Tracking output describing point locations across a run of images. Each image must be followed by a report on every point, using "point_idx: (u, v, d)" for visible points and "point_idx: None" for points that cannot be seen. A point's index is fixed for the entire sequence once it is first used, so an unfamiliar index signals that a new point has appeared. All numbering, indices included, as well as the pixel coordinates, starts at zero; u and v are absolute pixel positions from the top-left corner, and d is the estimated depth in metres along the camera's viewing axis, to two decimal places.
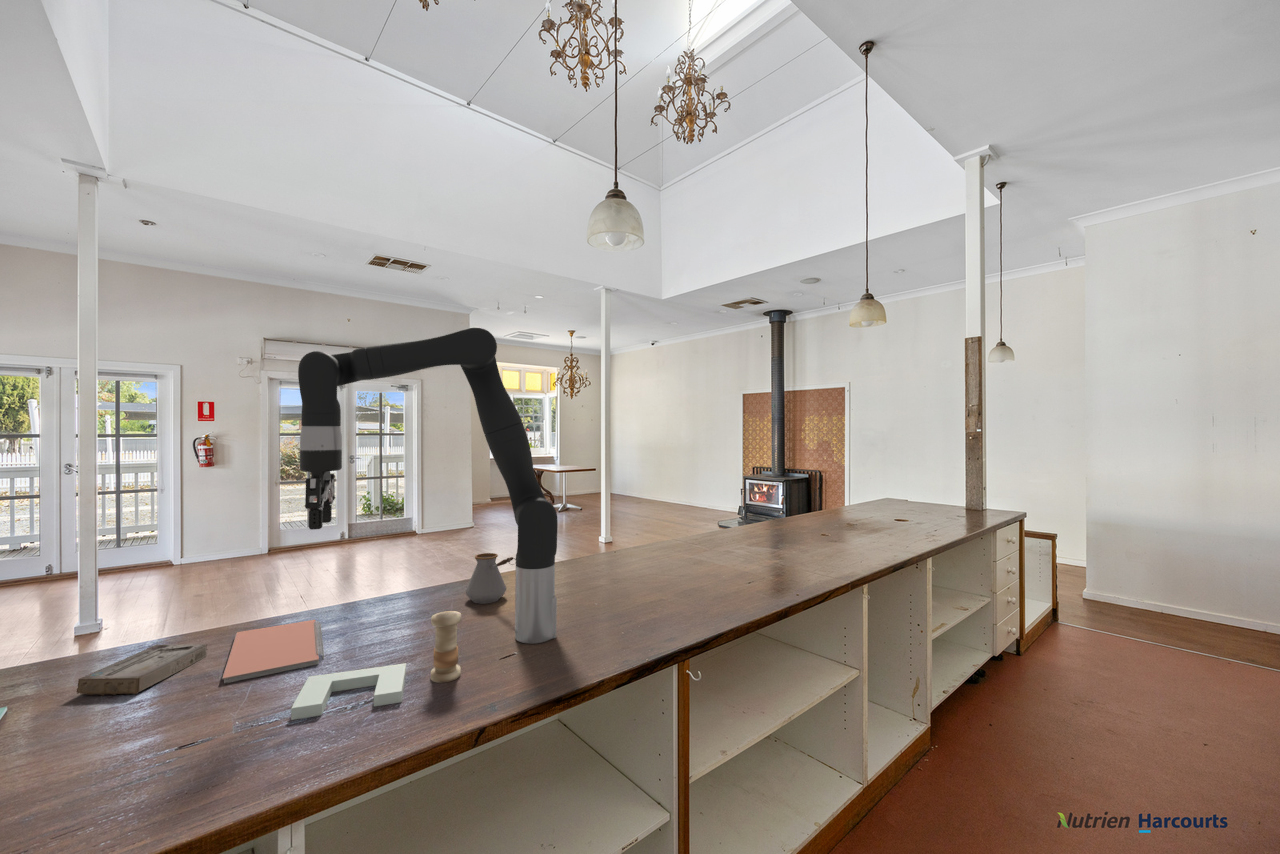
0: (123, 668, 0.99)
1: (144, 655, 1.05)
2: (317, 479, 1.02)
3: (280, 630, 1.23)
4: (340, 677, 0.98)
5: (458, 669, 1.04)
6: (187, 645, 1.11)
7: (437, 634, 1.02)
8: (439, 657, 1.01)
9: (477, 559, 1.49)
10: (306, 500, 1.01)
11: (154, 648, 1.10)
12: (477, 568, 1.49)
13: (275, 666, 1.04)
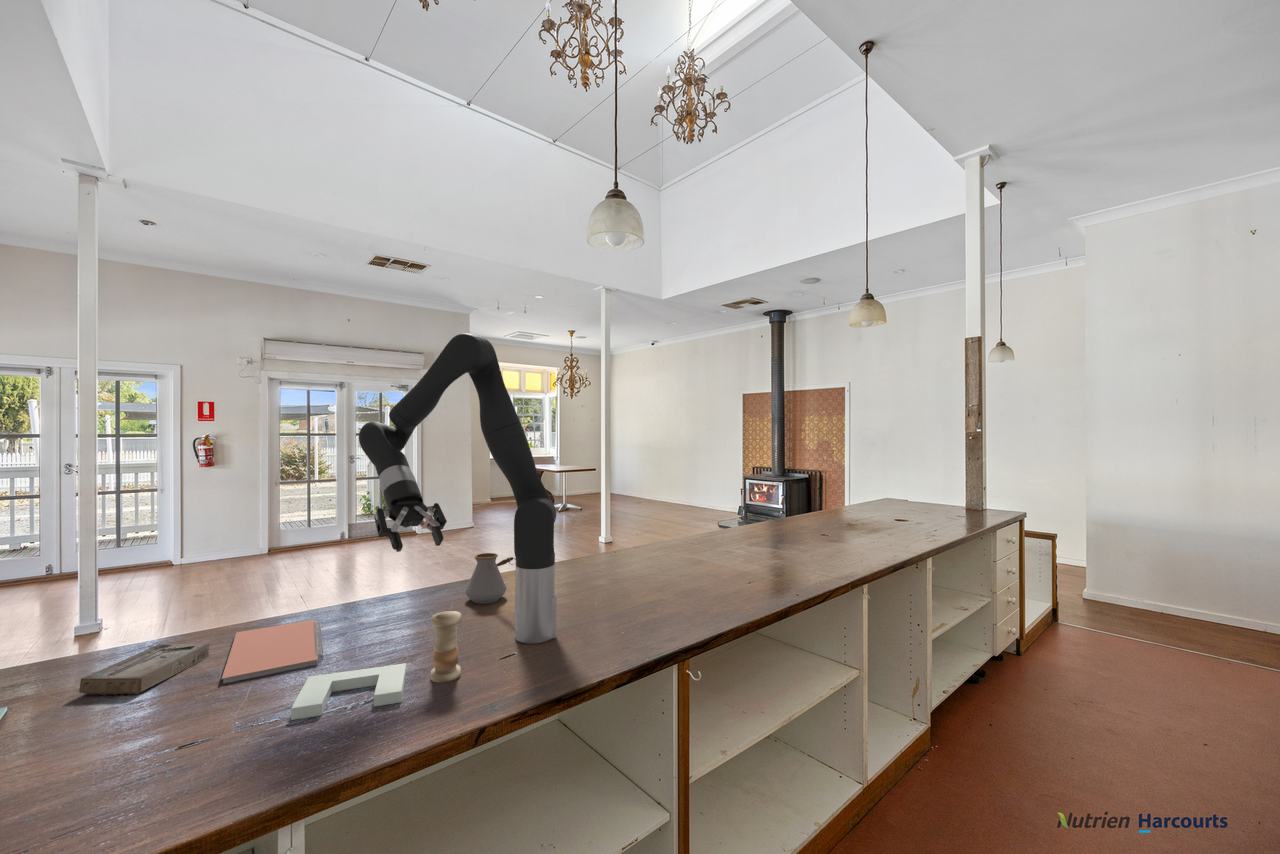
0: (125, 668, 0.99)
1: (146, 655, 1.05)
2: (377, 510, 1.12)
3: (280, 630, 1.23)
4: (340, 677, 0.98)
5: (458, 669, 1.04)
6: (189, 645, 1.11)
7: (437, 634, 1.02)
8: (439, 657, 1.01)
9: (477, 559, 1.49)
10: (377, 530, 1.10)
11: (157, 648, 1.10)
12: (477, 568, 1.49)
13: (274, 666, 1.04)
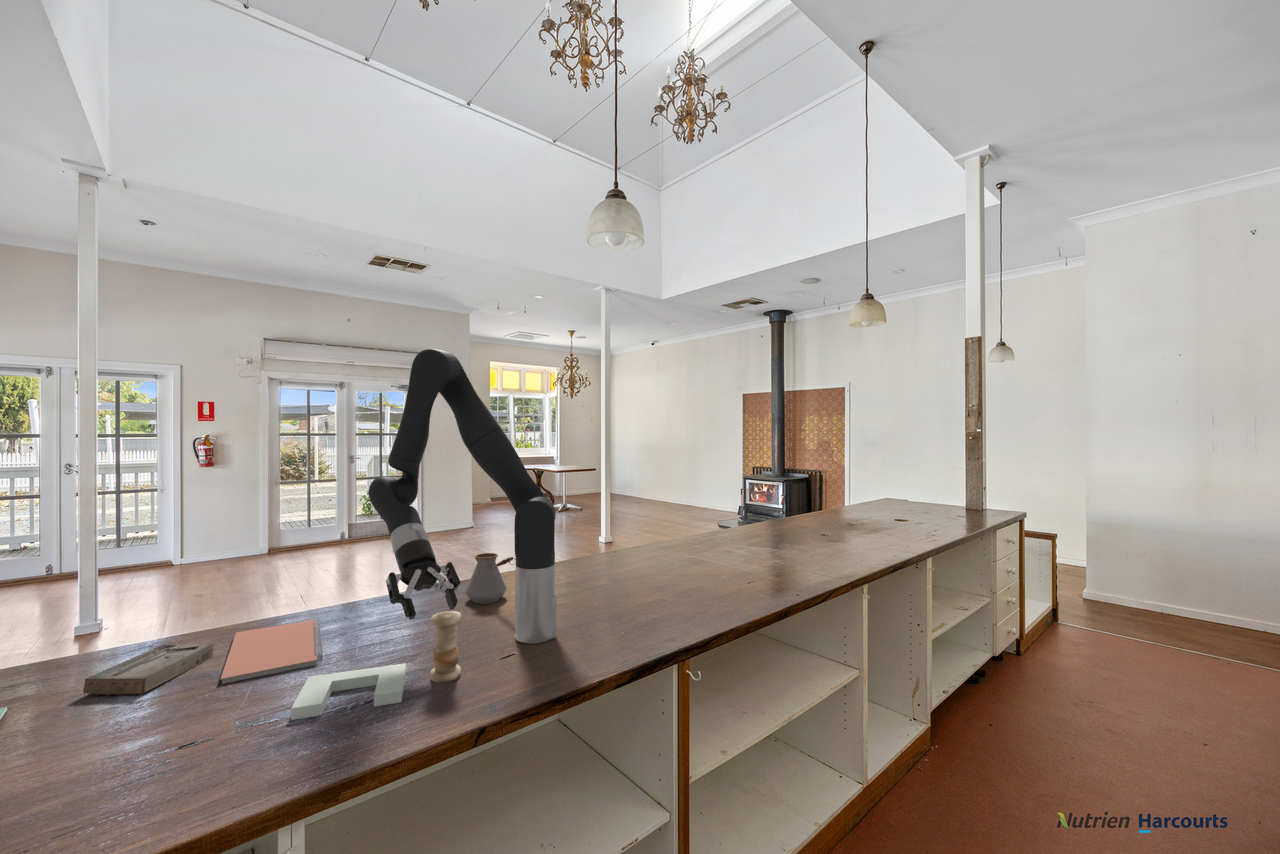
0: (129, 668, 0.99)
1: (151, 655, 1.05)
2: (389, 574, 1.07)
3: (279, 630, 1.23)
4: (340, 677, 0.98)
5: (458, 669, 1.04)
6: (194, 645, 1.11)
7: (437, 634, 1.02)
8: (439, 657, 1.01)
9: (477, 559, 1.49)
10: (389, 596, 1.06)
11: (161, 648, 1.10)
12: (477, 568, 1.49)
13: (273, 666, 1.04)
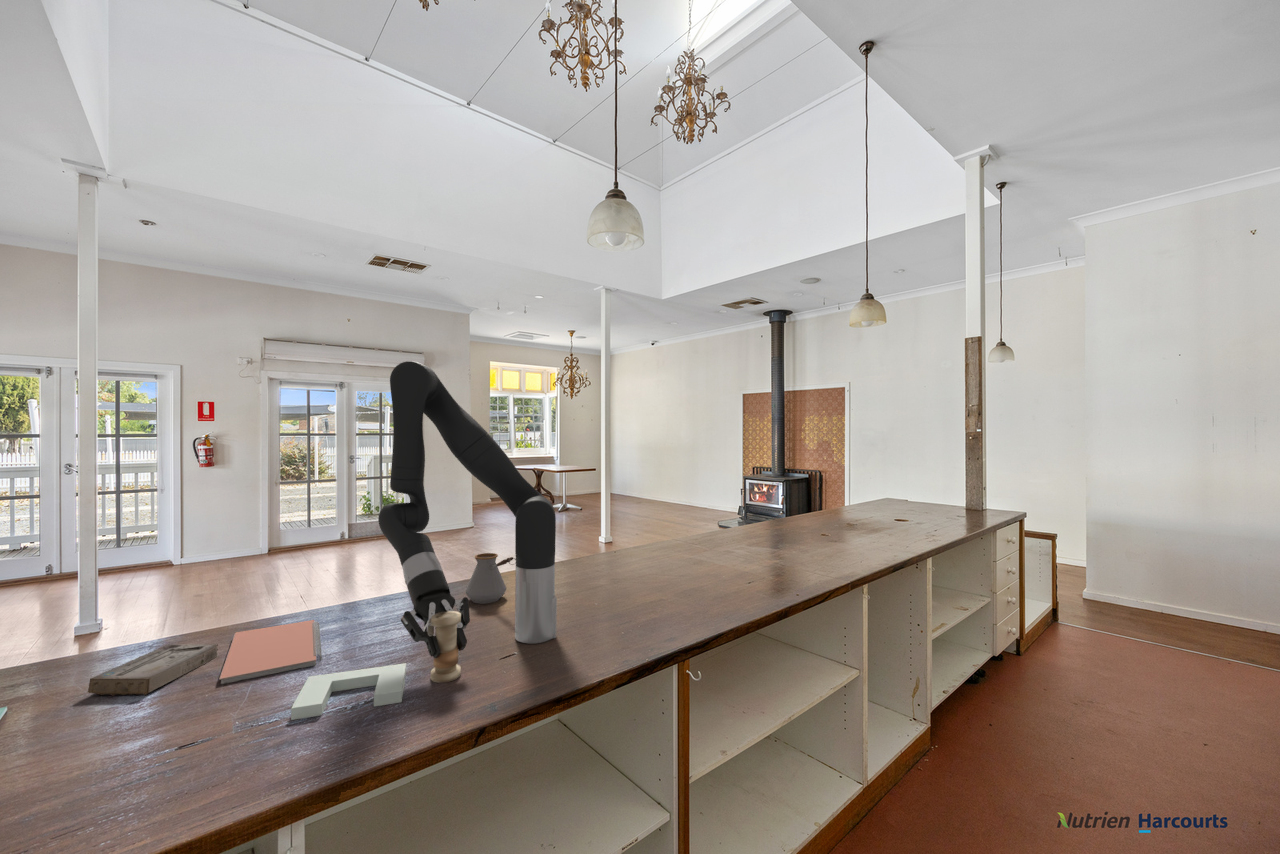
0: (134, 668, 0.99)
1: (155, 655, 1.05)
2: (403, 614, 1.02)
3: (278, 630, 1.23)
4: (340, 677, 0.98)
5: (458, 669, 1.04)
6: (198, 645, 1.11)
7: (437, 634, 1.02)
8: (439, 657, 1.01)
9: (477, 559, 1.49)
10: (411, 635, 1.01)
11: (166, 648, 1.10)
12: (477, 568, 1.49)
13: (272, 667, 1.04)
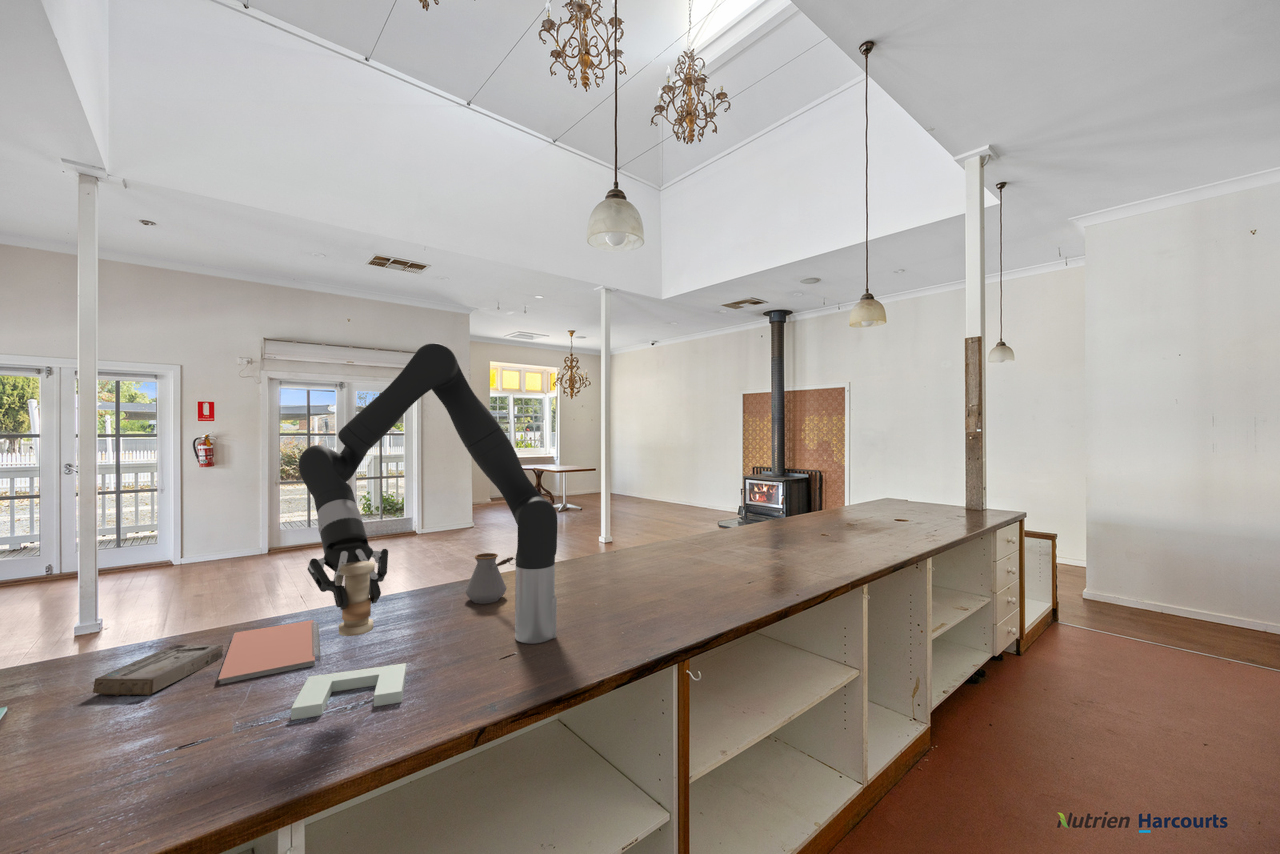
0: (139, 668, 0.99)
1: (161, 655, 1.06)
2: (310, 562, 0.94)
3: (278, 631, 1.23)
4: (340, 677, 0.98)
5: (370, 623, 0.95)
6: (204, 645, 1.11)
7: (346, 584, 0.94)
8: (347, 609, 0.93)
9: (477, 559, 1.49)
10: (317, 585, 0.93)
11: (172, 648, 1.10)
12: (477, 568, 1.49)
13: (271, 667, 1.04)
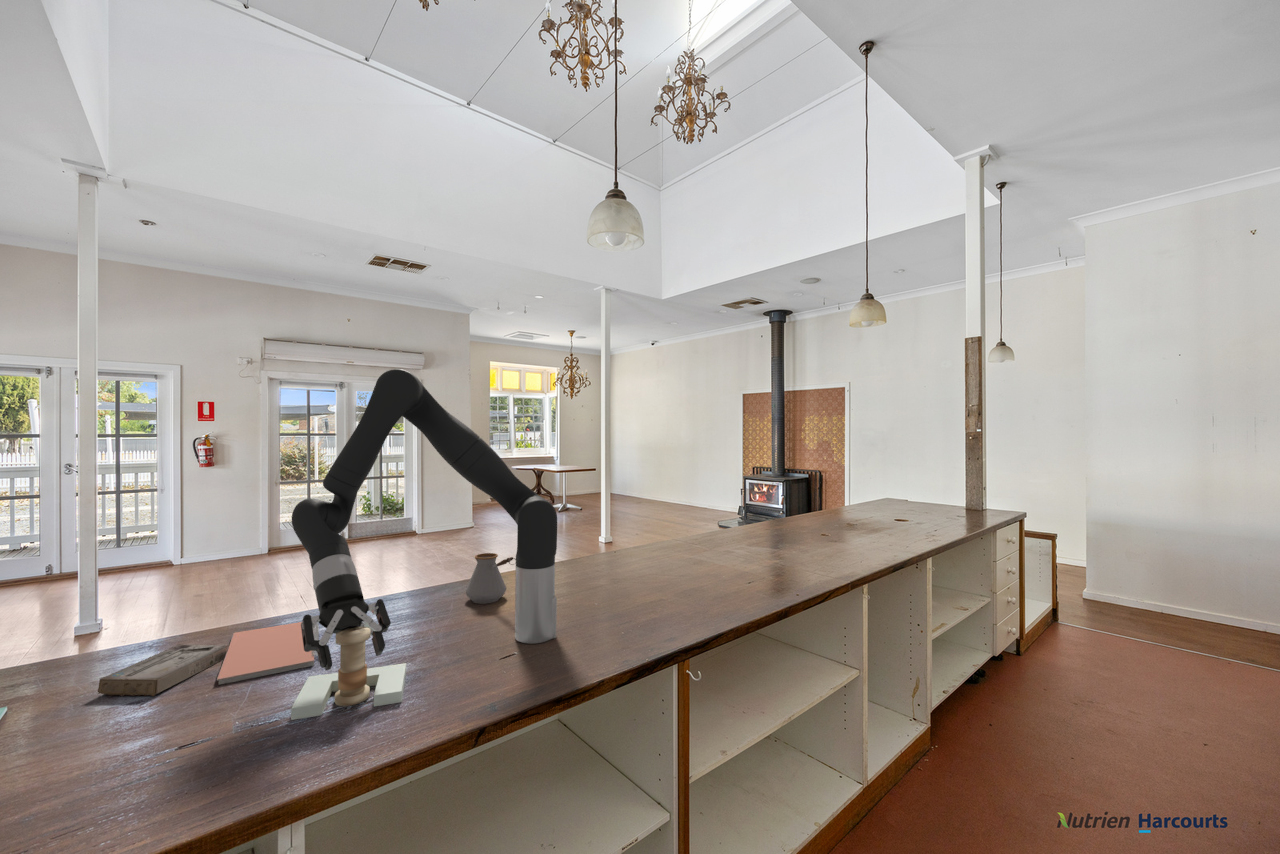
0: (144, 668, 0.99)
1: (166, 655, 1.05)
2: None
3: (277, 631, 1.23)
4: None
5: (366, 691, 0.95)
6: (208, 646, 1.11)
7: (341, 653, 0.93)
8: (343, 678, 0.92)
9: (477, 559, 1.49)
10: (303, 643, 0.92)
11: (177, 648, 1.10)
12: (477, 568, 1.49)
13: (270, 667, 1.04)
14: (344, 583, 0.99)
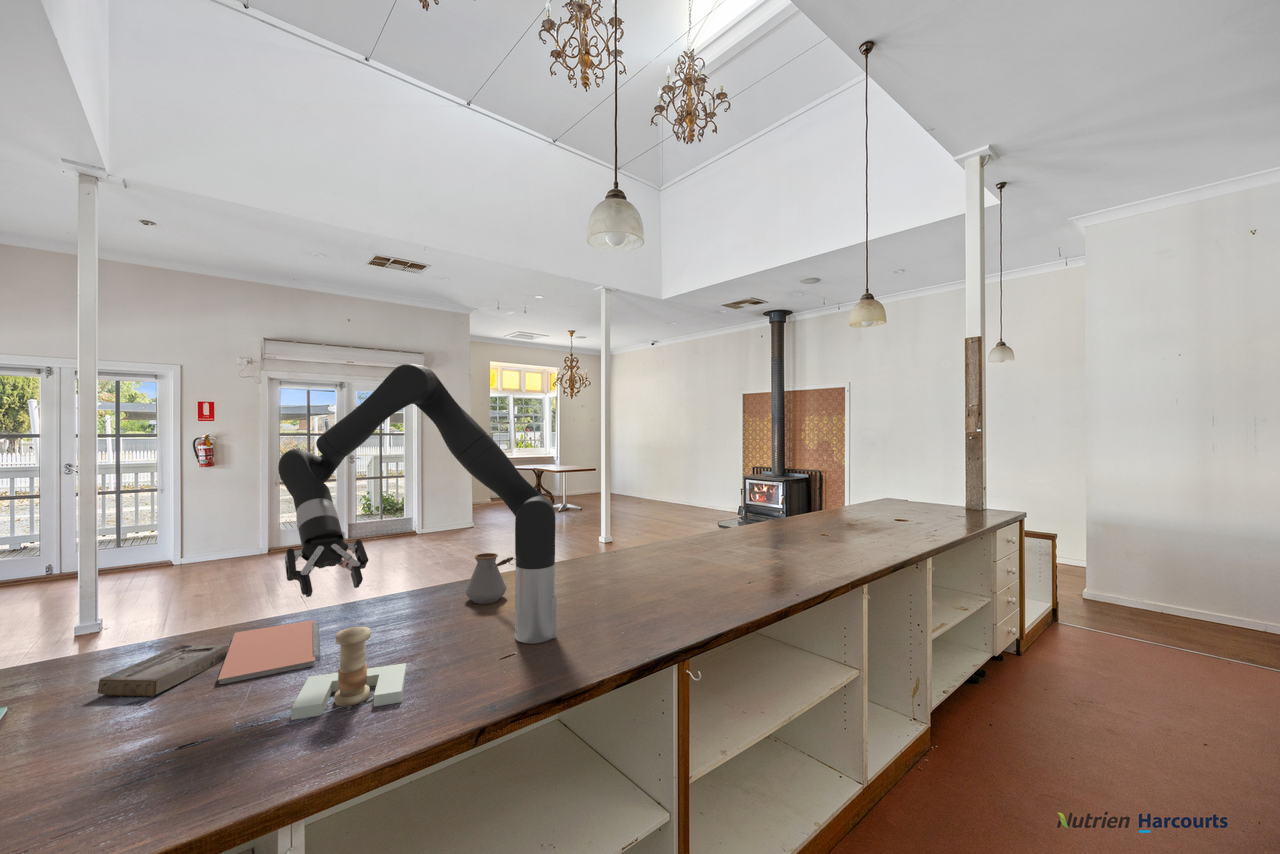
0: (144, 669, 0.99)
1: (166, 656, 1.05)
2: None
3: (278, 631, 1.23)
4: None
5: (366, 691, 0.95)
6: (209, 646, 1.11)
7: (341, 653, 0.93)
8: (343, 678, 0.92)
9: (477, 559, 1.49)
10: (286, 573, 1.01)
11: (178, 648, 1.10)
12: (477, 568, 1.49)
13: (271, 667, 1.04)
14: (325, 523, 1.08)
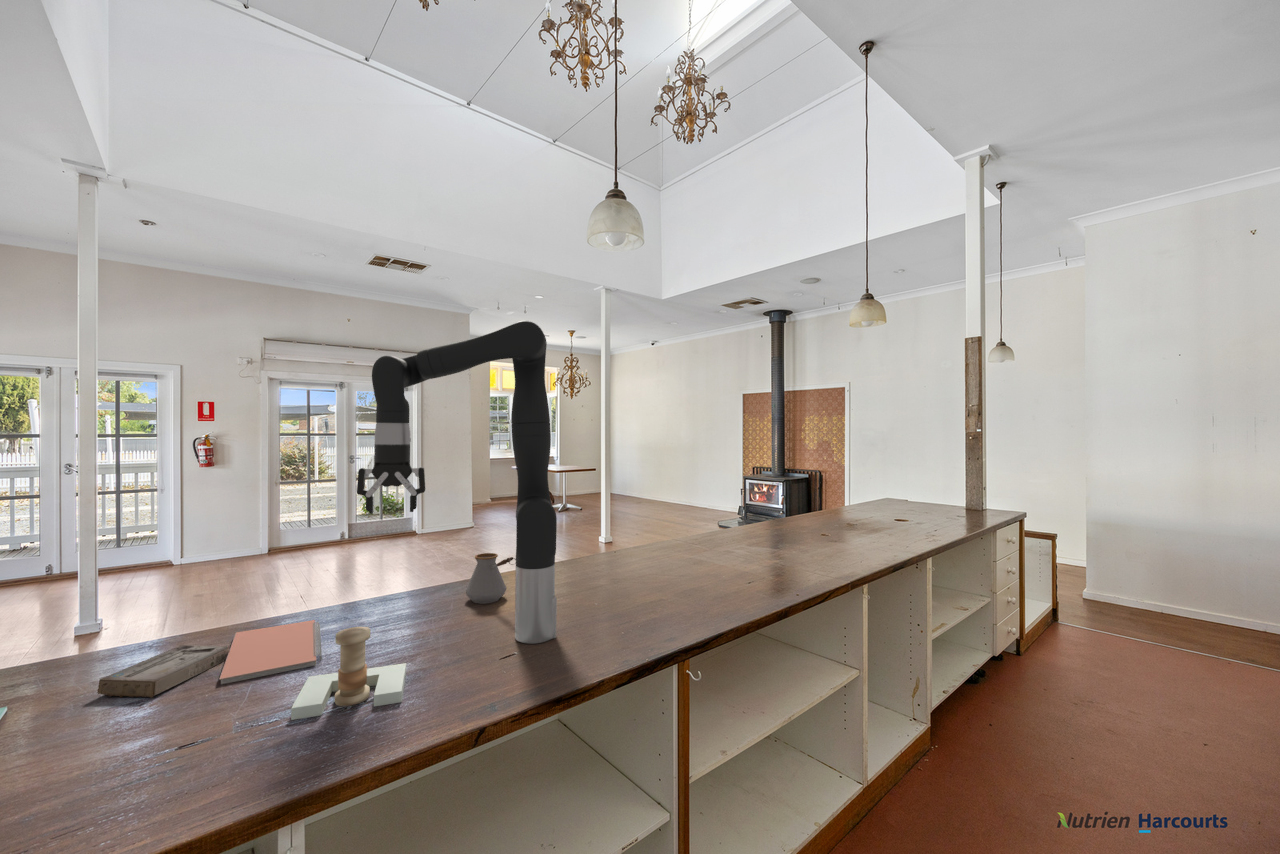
0: (144, 669, 0.99)
1: (167, 656, 1.05)
2: (359, 469, 1.17)
3: (279, 630, 1.23)
4: None
5: (366, 691, 0.95)
6: (210, 647, 1.10)
7: (341, 653, 0.93)
8: (343, 678, 0.92)
9: (477, 559, 1.49)
10: None
11: (179, 648, 1.10)
12: (477, 568, 1.49)
13: (272, 667, 1.04)
14: (391, 453, 1.17)
